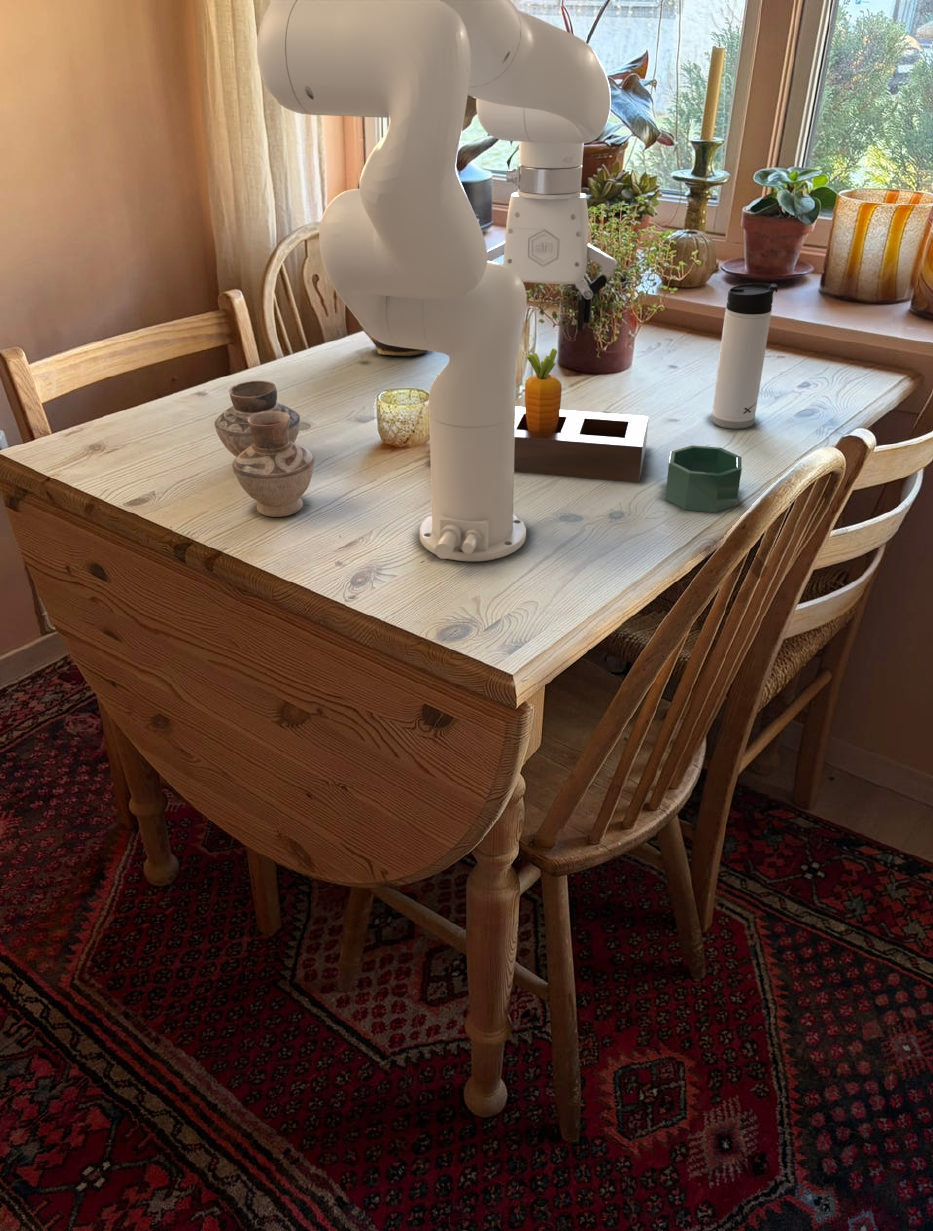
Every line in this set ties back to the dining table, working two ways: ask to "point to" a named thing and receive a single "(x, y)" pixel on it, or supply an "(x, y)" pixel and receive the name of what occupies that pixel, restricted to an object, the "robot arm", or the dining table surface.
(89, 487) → the dining table surface
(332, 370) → the dining table surface
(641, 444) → the rack
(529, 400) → the carrot
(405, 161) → the robot arm
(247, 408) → the pottery
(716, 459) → the holder
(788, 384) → the dining table surface
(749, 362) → the travel mug
